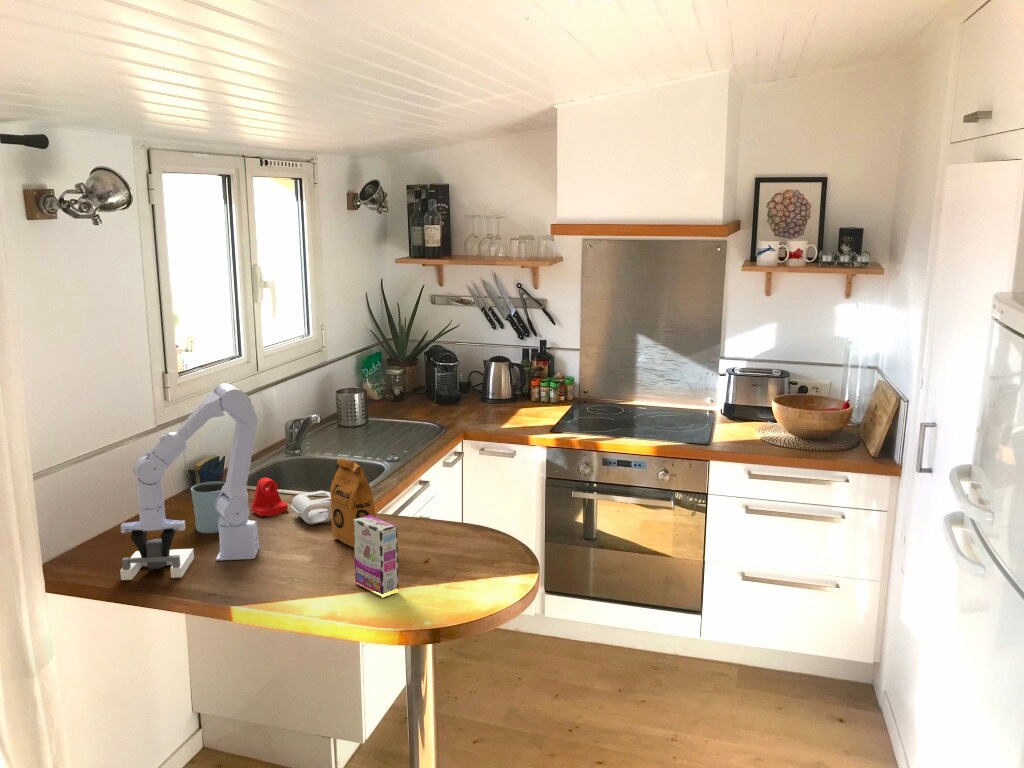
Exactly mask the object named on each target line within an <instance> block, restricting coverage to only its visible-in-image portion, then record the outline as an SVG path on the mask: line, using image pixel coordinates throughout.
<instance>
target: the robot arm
mask: <svg viewBox="0 0 1024 768" xmlns="http://www.w3.org/2000/svg"><path fill="white" fill-rule="evenodd" d="M224 412H226V413H227V414H228V415H229V417H230V418H231V419H232V421H234V422H235V425H234V426H235V427H234V432H233V437H232V438H233V439H232V443H231V444H232V445H231V448H230V449H231V450H230V456H229V461H228V466H227V473H226V478H225V484H224V485H223V487H222V489H221V493H220V495H219V497H218V498H217V500H216V502H215V508H216V510H217V512H218V513H219V514H220V518H219V520H218V527H219V532H218V538H219V552H218V554H217V556H216V559H215V560H216V561H232V560H233V561H235V560H239V561H240V560H253V559H255V558H256V556H257V554H258V552H259V549H260V544H259V543H260V542H259V527H258V521H257V520H251V519H249V516H250V510H251V509H250V507H249V504H248V503H249V493H248V489H247V486H248V480H249V473H250V470H251V469H250V468H251V462H252V458H253V457H252V456H253V451H254V446H255V445H254V444H255V440H256V435H257V428H258V421H259V417H258V415H257V413H256V410H255V409H254V407H253V404H252V399H251V398H250V397H249V396H248V395H247V394H246V393H245V392H244V391H243V390H242V389H238V388H237V387H235V386H234V385H233V384H231V383H220V384H218V385H217V386H216V387H215V388H214V390H213V391H210V393H208V394H207V395H206V396H205V398H204V399H203V400H202V402H201V403H200V404H199V405H198V406H197V407H196V408H195V409H194V410H193V412H192V413H191V414H190V415H189V416H188V418H187V419H186V420H185V421H184V422H182V424H181V425H180V427H179V428H178V429H177V430H175V431H173V432H167V433H166V434H164V435H163V434H161V435H160V436H159V437H158V440H159V441H158V442H157V443H156V444H155V445H154V446H153V447H152V448H151V449H150V450H149V451H147V450H146V451H145V452H144V456H141V457H139V458H138V459H137V460H136V461H135V463H134V466H133V468H132V471H133V474H134V475H135V476H136V477H137V478H136V481H137V482H136V486H137V503H138V511H139V512H138V513H139V515H138V516H139V521H138V520H137V521H131V522H130V521H129V522H123V523H121V525H120V533H121V534H126V533H131V535H130V540H131V541H132V542H133V543H134V544H135V546H136V547H137V551H139V552H140V554H141V557H142V558H146V545H145V543H146V542H147V541H148V539H147V538H148V532H156V531H157V532H161V531H162V532H161V534H160V539H162V544H163V557H169V552H170V550H171V545H172V542H173V539H174V537H175V534H176V531H179V532H180V531H181V532H182V531H185V530H186V520H177V519H176V520H175V519H167V518H166V509H165V508H166V507H165V499H164V498H165V496H164V495H165V494H164V487H163V481H162V480H163V478H164V476H165V470H166V469H168V468H169V467H170V466H171V465H172V464H173V462H175V460H176V459H178V457H179V456H180V455H182V453H183V452H185V450H186V449H187V441H188V440H189V439H190V438H191V437H192V436H193V435H194V434H195V433H196V432H197V431H199V430H200V429H201V428H202V427H203V426H204V425H205V424H206V423H207V422H208V421H209V420H211V419H213V418H219V417H224V416H225V415H226V414H225V413H224Z"/></svg>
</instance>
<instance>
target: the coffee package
mask: <svg viewBox="0 0 1024 768" xmlns="http://www.w3.org/2000/svg"><path fill="white" fill-rule="evenodd" d="M336 464H337V465H338V468H337V471H336V472H335V475H334V478H333V480H332V482H331V485H330V487H329V488H330V489H329V492H330V495H331V500H330V501H331V531H332V534H331V535H332V537H334V538H336V540H338V541H341V542H342V543H343V544H344V543H345V544H344V545H346V544H347V545H346V546H348V545H349V547H350V546H351V547H350V548H352V547H354V519H357V518H360V517H364V516H368V515H371V516H373V517H376V518H377V514H376V508H375V502H374V497H373V491H372V489H371V485H370V484H369V481H368V480H367V476H366V475H365V473H364V470H363V468H362V466H360V465H359V464H357V463H356V462H355V461H351V460H348V459H344V458H339V459H337V461H336Z"/></svg>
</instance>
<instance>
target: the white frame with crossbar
mask: <svg viewBox="0 0 1024 768" xmlns="http://www.w3.org/2000/svg"><path fill="white" fill-rule="evenodd" d="M194 552H195V551H194V548H180V549H179V548H177V549H170V552H169V557H146V558H142V557H141V554H140V552H139V550H136V551H134V553H132V555H131V557H130V556H129V557H123V558H122V559H121V565H122V567H121V569H120V571H119V572H120V581H130V580H133V579H134V577H135V576H136V575H137V574H138V573H139V571H140V570H141V568H142V567H147V562H166V563H167V564H166V565H165V566H170V578H172V579H173V578H174V579H175V578H183V576H184V575H185V573H186V572H187V570H188V569H189V567H190V565H191V564H192V562H193V560H194V559H195V555H194V554H195V553H194Z"/></svg>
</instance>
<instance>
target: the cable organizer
mask: <svg viewBox="0 0 1024 768" xmlns="http://www.w3.org/2000/svg"><path fill="white" fill-rule="evenodd" d="M324 494H325V495H326V496H327V497H324V498H318V499H310V498H309V497H311V496H312V497H313V496H318V495H324ZM291 503H292V505H291V506H290V509H291V511H293V512H294V513H295V515H296V516H298V517H300V518H301V519H302V520H303V521H304V522H305V523H306V524H308V525H316V524H322V523H327V522H330V521H331V495H330V491H325V490H318V491H310V492H306V493H305V492H303V493H299V494H297V495H295V496H294V497H293V499H292V501H291ZM315 508H316V509H315ZM317 508H318V509H317Z"/></svg>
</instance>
